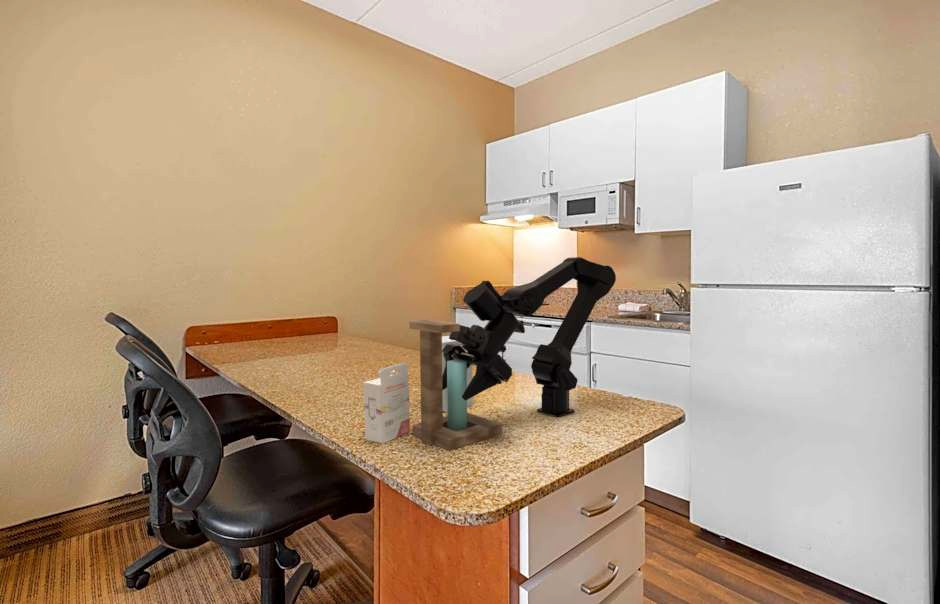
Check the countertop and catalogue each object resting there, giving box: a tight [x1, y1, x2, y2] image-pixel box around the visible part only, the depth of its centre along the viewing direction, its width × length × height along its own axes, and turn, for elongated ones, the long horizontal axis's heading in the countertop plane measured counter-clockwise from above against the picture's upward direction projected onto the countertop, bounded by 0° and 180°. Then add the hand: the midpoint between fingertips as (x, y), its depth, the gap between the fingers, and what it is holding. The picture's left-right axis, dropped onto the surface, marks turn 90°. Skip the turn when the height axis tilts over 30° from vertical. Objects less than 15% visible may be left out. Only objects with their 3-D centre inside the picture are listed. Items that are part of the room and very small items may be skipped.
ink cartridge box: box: [362, 362, 411, 445], centre depth 97 cm, size 9×5×15 cm, turn 148°
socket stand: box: [408, 319, 503, 452], centre depth 97 cm, size 15×12×23 cm
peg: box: [446, 360, 468, 431], centre depth 97 cm, size 4×4×15 cm
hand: (451, 394), depth 96 cm, fingers open, 9 cm apart
